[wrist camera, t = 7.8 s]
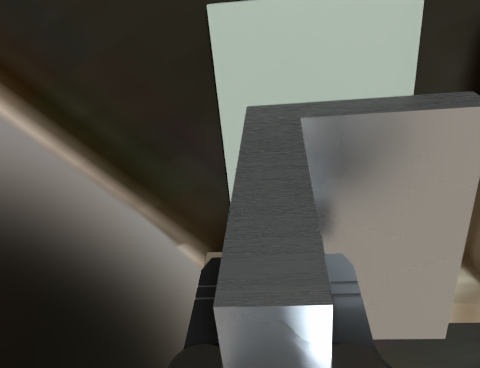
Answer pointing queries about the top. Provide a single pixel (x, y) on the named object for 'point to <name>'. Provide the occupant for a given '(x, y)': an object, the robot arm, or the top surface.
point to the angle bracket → (345, 222)
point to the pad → (308, 55)
